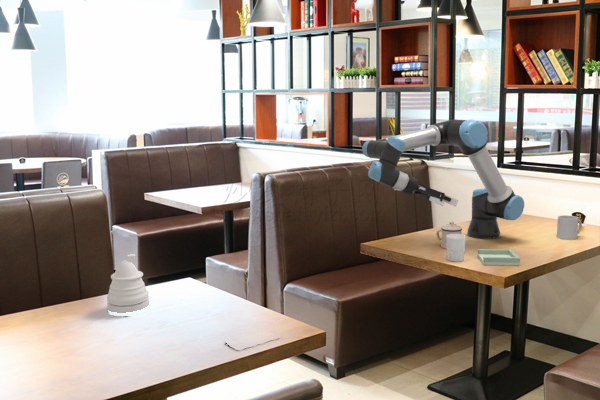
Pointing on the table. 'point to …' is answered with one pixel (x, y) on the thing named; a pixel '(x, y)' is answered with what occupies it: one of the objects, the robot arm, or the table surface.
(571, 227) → the mug
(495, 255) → the green tray
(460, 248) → the white cup
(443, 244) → the teacup with lid
